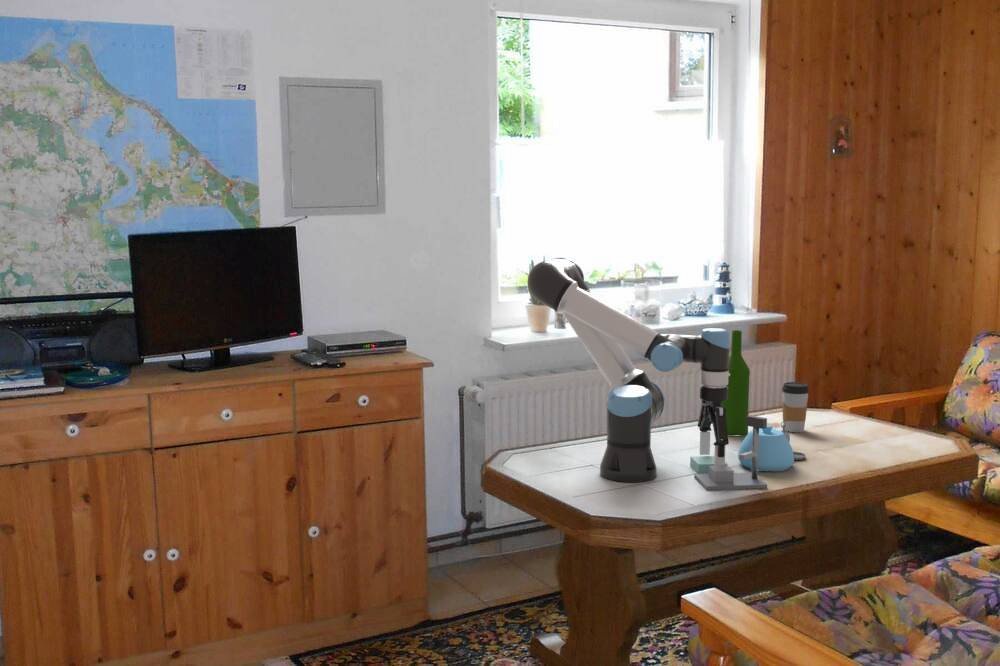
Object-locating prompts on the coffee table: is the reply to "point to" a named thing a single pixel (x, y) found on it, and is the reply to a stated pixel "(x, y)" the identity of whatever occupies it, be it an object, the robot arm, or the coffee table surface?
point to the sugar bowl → (769, 450)
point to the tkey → (754, 442)
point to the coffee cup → (794, 405)
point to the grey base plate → (727, 479)
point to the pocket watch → (796, 454)
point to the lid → (702, 463)
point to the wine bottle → (737, 389)
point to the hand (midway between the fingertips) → (711, 461)
